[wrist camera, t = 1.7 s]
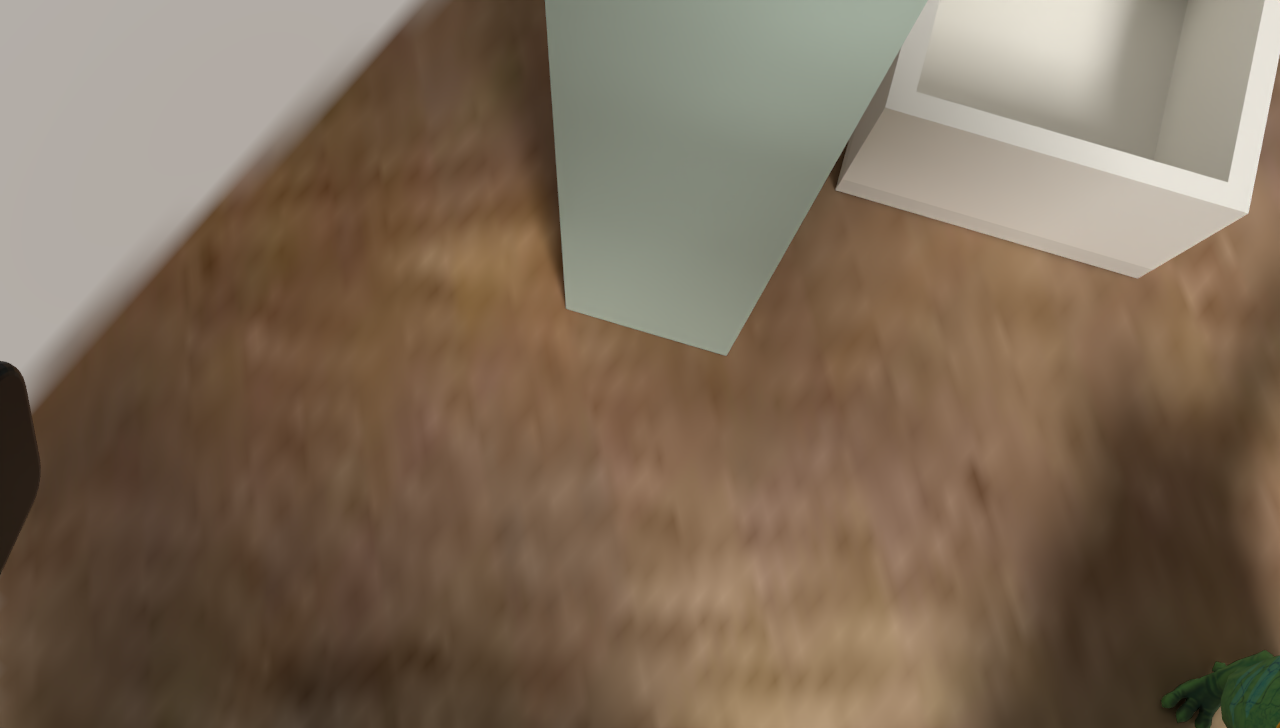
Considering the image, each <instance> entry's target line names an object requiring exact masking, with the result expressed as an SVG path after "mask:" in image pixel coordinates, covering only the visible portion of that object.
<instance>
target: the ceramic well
mask: <svg viewBox="0 0 1280 728" xmlns="http://www.w3.org/2000/svg"><path fill="white" fill-rule="evenodd" d="M1279 55H1280V0H928V1H927V3H926V4H925V6H924V8H923V10H922V11H921V13H920V15H919V17H918V18H917V20H916V22H915V24H914V26H913V27H912V29H911V31H910V33H909V34H908V36H907V38H906V40H905V41H904V43H903V45H902V47H901V48H900V50H899V52H898V54H897V56H896V57H895V59H894V61H893V63H892V64H891V66H890V68H889V70H888V71H887V73H886V75H885V77H884V79H883V80H882V82H881V84H880V86H879V87H878V89H877V91H876V93H875V94H874V96H873V98H872V100H871V101H870V103H869V105H868V107H867V109H866V110H865V112H864V114H863V116H862V117H861V119H860V121H859V123H858V124H857V126H856V128H855V130H854V132H853V133H852V135H851V137H850V139H849V142H848V145H847V149H846V153H845V156H844V160H843V164H842V167H841V171H840V175H839V178H838V182H837V186H836V189H835V190H837V191H840V192H844V193H847V194H850V195H854V196H857V197H861V198H864V199H867V200H871V201H874V202H878V203H881V204H885V205H888V206H891V207H895V208H898V209H902V210H905V211H908V212H912V213H915V214H919V215H922V216H926V217H929V218H932V219H936V220H939V221H943V222H946V223H950V224H953V225H956V226H960V227H963V228H967V229H970V230H973V231H977V232H980V233H984V234H987V235H991V236H994V237H997V238H1001V239H1004V240H1008V241H1011V242H1014V243H1018V244H1021V245H1025V246H1028V247H1032V248H1035V249H1038V250H1042V251H1045V252H1049V253H1052V254H1056V255H1059V256H1062V257H1066V258H1069V259H1073V260H1076V261H1079V262H1083V263H1086V264H1090V265H1093V266H1097V267H1100V268H1103V269H1107V270H1110V271H1114V272H1117V273H1120V274H1124V275H1127V276H1131V277H1134V278H1139V277H1141V276H1143V275H1145V274H1146V273H1148V272H1150V271H1151V270H1153V269H1155V268H1156V267H1158V266H1160V265H1162V264H1163V263H1165V262H1167V261H1168V260H1170V259H1172V258H1173V257H1175V256H1177V255H1179V254H1180V253H1182V252H1184V251H1185V250H1187V249H1189V248H1190V247H1192V246H1194V245H1196V244H1197V243H1199V242H1201V241H1202V240H1204V239H1206V238H1207V237H1209V236H1211V235H1212V234H1214V233H1216V232H1218V231H1219V230H1221V229H1223V228H1224V227H1226V226H1228V225H1229V224H1231V223H1233V222H1235V221H1236V220H1238V219H1240V218H1241V217H1243V216H1245V215H1246V214H1248V213H1249V207H1250V202H1251V197H1252V192H1253V187H1254V182H1255V177H1256V172H1257V167H1258V162H1259V157H1260V152H1261V147H1262V141H1263V136H1264V131H1265V126H1266V121H1267V116H1268V111H1269V106H1270V101H1271V96H1272V91H1273V86H1274V80H1275V75H1276V70H1277V65H1278V60H1279Z"/></svg>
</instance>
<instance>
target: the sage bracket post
mask: <svg viewBox="0 0 1280 728" xmlns="http://www.w3.org/2000/svg"><path fill="white" fill-rule="evenodd" d="M927 1H928V0H545V9H546V23H547V38H548V53H549V67H550V82H551V96H552V111H553V125H554V140H555V155H556V169H557V184H558V198H559V213H560V227H561V242H562V257H563V271H564V286H565V300H566V309H569V310H572V311H575V312H579V313H582V314H586V315H589V316H592V317H596V318H599V319H603V320H606V321H609V322H613V323H616V324H619V325H623V326H626V327H630V328H633V329H636V330H640V331H643V332H647V333H650V334H653V335H657V336H660V337H664V338H667V339H670V340H674V341H677V342H681V343H684V344H687V345H691V346H694V347H698V348H701V349H704V350H708V351H711V352H715V353H718V354H721V355H725V356H727V354H728V352H729V351H730V349H731V347H732V345H733V343H734V342H735V340H736V338H737V336H738V335H739V333H740V331H741V329H742V328H743V326H744V324H745V322H746V321H747V319H748V317H749V315H750V313H751V312H752V310H753V308H754V306H755V305H756V303H757V301H758V299H759V298H760V296H761V294H762V292H763V290H764V289H765V287H766V285H767V283H768V282H769V280H770V278H771V276H772V275H773V273H774V271H775V269H776V268H777V266H778V264H779V262H780V260H781V259H782V257H783V255H784V253H785V252H786V250H787V248H788V246H789V245H790V243H791V241H792V239H793V237H794V236H795V234H796V232H797V230H798V229H799V227H800V225H801V223H802V222H803V220H804V218H805V216H806V215H807V213H808V211H809V209H810V207H811V206H812V204H813V202H814V200H815V199H816V197H817V195H818V193H819V192H820V190H821V188H822V186H823V184H824V183H825V181H826V179H827V177H828V176H829V174H830V172H831V170H832V169H833V167H834V165H835V163H836V162H837V160H838V158H839V156H840V154H841V153H842V151H843V149H844V147H845V146H846V144H847V142H848V140H849V139H850V137H851V135H852V133H853V132H854V130H855V128H856V126H857V124H858V123H859V121H860V119H861V117H862V116H863V114H864V112H865V110H866V109H867V107H868V105H869V103H870V101H871V100H872V98H873V96H874V94H875V93H876V91H877V89H878V87H879V86H880V84H881V82H882V80H883V79H884V77H885V75H886V73H887V71H888V70H889V68H890V66H891V64H892V63H893V61H894V59H895V57H896V56H897V54H898V52H899V50H900V48H901V47H902V45H903V43H904V41H905V40H906V38H907V36H908V34H909V33H910V31H911V29H912V27H913V26H914V24H915V22H916V20H917V18H918V17H919V15H920V13H921V11H922V10H923V8H924V6H925V4H926V3H927Z"/></svg>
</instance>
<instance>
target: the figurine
mask: <svg viewBox="0 0 1280 728" xmlns="http://www.w3.org/2000/svg"><path fill="white" fill-rule="evenodd" d="M1212 671H1213V672H1214V673H1211V674H1209V675H1206V676H1203V677H1201V678H1200V679H1191V680H1189V681H1187V682H1185V683H1183V684H1181V685H1179V686H1178V687H1177V688H1176V689H1175V690H1173V691H1172V692H1170V693H1168V694H1166V695H1165V696H1163V698H1162V700H1161V703H1162V707H1164V708H1172V707H1174V706H1175V705H1176V704H1177V703H1178V702H1179V701H1180V700H1181V699H1182V698H1186V700H1185V702H1184V703H1183V704H1182V705H1181V706H1180V707H1179V708H1178V709H1177V711H1176V718H1177V723H1178V722H1184V721H1188V720H1189V719H1190V718H1192V716H1193V714H1194V712H1195V711H1197V710H1198V709H1199V714H1198V716H1197V718H1196V720H1195V727H1196V728H1210V726H1211V722H1212V717H1213V715H1214V714H1215V712H1216V711H1217V710H1218V709H1219V707H1220V706H1221V711H1222V720H1223V722H1224V723H1225V725H1226V727H1227V728H1280V656H1276V657H1273V655H1272V654H1270V653H1269V652H1267V651H1266V650H1264V651H1262V652H1260V653H1258V654H1255V655H1252V656H1249V657H1246V658H1243V659H1241V660H1238V661H1235V662H1233V663H1231V664H1229V665H1227V666H1226V664H1225V663H1221V662H1215V665H1214V667H1213V669H1212Z"/></svg>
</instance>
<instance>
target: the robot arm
mask: <svg viewBox="0 0 1280 728" xmlns="http://www.w3.org/2000/svg"><path fill="white" fill-rule="evenodd" d="M40 468H41V467H40V458H39V452H38V447H37V442H36V437H35V431H34V426H33V421H32V415H31V410H30V405H29V400H28V394H27V389H26V385H25V382H24V378H23V376H22V375H21V373H20V371H19V370H18V369H17V368H16V367H14V366H13V365H11V364H9V363H7V362H3V361H0V574H1V572H2V570H3V568H4V565H5V563H6V561H7V559H8V557H9V555H10V552H11V550H12V548H13V546H14V544H15V542H16V539H17V537H18V535H19V533H20V531H21V529H22V526H23V524H24V522H25V520H26V518H27V516H28V513H29V511H30V509H31V507H32V505H33V502H34V500H35V497H36V494H37V491H38V487H39V482H40Z"/></svg>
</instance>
